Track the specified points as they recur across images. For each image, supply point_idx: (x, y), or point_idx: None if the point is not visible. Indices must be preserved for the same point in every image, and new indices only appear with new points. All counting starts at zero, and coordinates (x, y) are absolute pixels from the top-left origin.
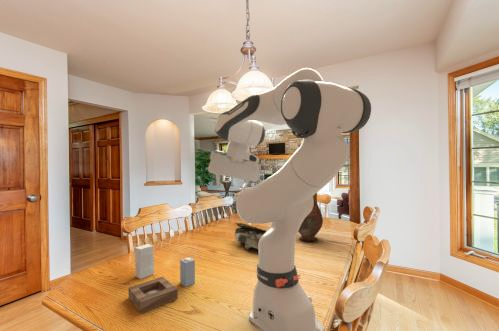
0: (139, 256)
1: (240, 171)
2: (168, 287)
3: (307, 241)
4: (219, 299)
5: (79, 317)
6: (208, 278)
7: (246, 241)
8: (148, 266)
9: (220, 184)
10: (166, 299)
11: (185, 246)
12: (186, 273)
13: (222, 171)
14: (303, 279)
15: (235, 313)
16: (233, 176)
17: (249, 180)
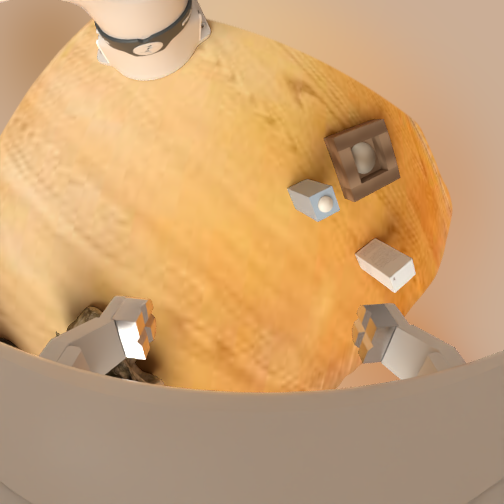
0: (402, 253)
1: (129, 491)
2: (347, 149)
3: (8, 341)
4: (247, 105)
5: (427, 149)
6: (255, 203)
7: (136, 370)
8: (373, 253)
9: (378, 313)
10: (343, 131)
11: (280, 376)
12: (316, 183)
13: (467, 398)
14: (48, 149)
15: (228, 55)
16: (272, 397)
17: (25, 352)
